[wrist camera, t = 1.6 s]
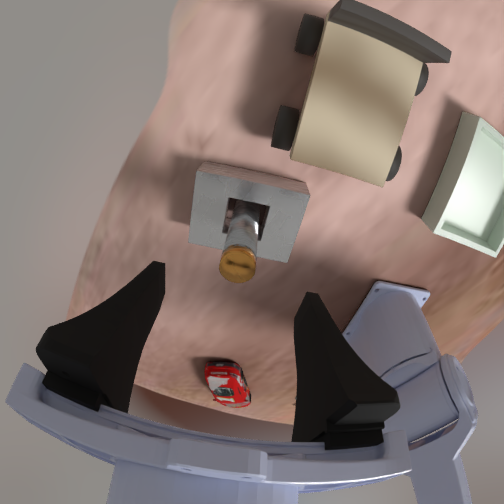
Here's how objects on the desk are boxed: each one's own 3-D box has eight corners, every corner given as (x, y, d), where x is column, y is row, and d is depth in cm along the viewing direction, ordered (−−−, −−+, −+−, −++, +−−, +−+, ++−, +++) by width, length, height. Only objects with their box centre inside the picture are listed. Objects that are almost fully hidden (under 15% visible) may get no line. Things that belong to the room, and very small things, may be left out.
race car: (253, 397, 42) (252, 417, 39) (222, 396, 43) (219, 416, 39) (242, 357, 35) (239, 382, 31) (202, 356, 35) (197, 381, 32)
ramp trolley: (377, 173, 20) (416, 212, 14) (270, 141, 19) (271, 169, 13) (412, 62, 14) (466, 62, 8) (301, 19, 13) (318, -12, 8)
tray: (484, 244, 22) (495, 257, 20) (421, 218, 21) (433, 232, 19) (521, 160, 16) (536, 169, 14) (462, 111, 15) (479, 116, 13)
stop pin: (257, 218, 23) (251, 285, 16) (233, 213, 22) (217, 278, 16) (262, 196, 22) (258, 258, 15) (237, 191, 21) (221, 251, 15)
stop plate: (285, 245, 24) (287, 262, 22) (195, 227, 23) (188, 242, 21) (305, 182, 21) (310, 195, 19) (204, 161, 20) (196, 170, 18)
